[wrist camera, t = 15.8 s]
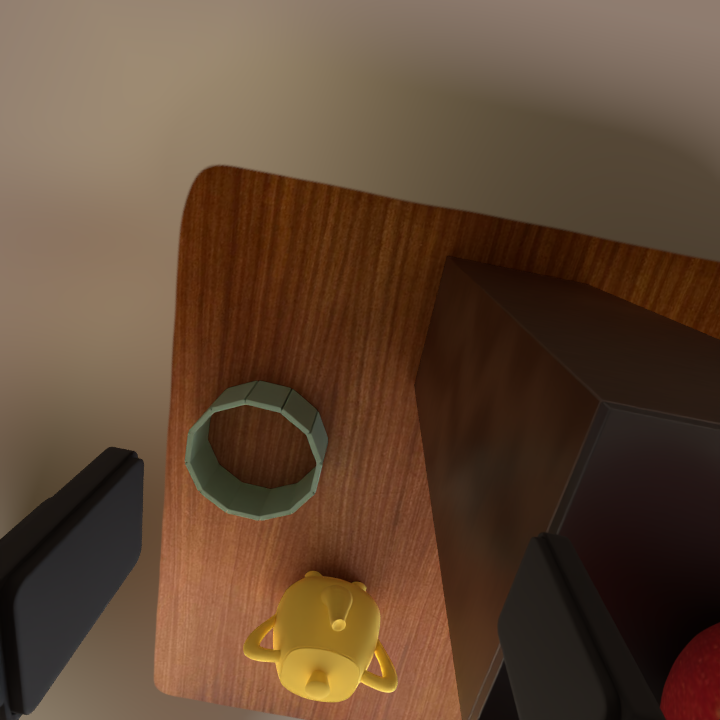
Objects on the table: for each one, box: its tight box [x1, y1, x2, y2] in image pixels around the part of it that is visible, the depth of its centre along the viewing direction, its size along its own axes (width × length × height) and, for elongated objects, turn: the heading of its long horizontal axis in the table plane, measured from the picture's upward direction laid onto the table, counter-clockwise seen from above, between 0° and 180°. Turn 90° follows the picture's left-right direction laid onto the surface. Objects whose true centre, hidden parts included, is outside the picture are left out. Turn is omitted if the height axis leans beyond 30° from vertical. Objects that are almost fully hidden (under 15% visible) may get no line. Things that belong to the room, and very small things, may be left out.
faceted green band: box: [185, 381, 328, 521], centre depth 49 cm, size 14×14×5 cm
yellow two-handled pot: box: [243, 571, 398, 702], centre depth 53 cm, size 14×14×12 cm
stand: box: [414, 256, 720, 720], centre depth 25 cm, size 14×14×44 cm
